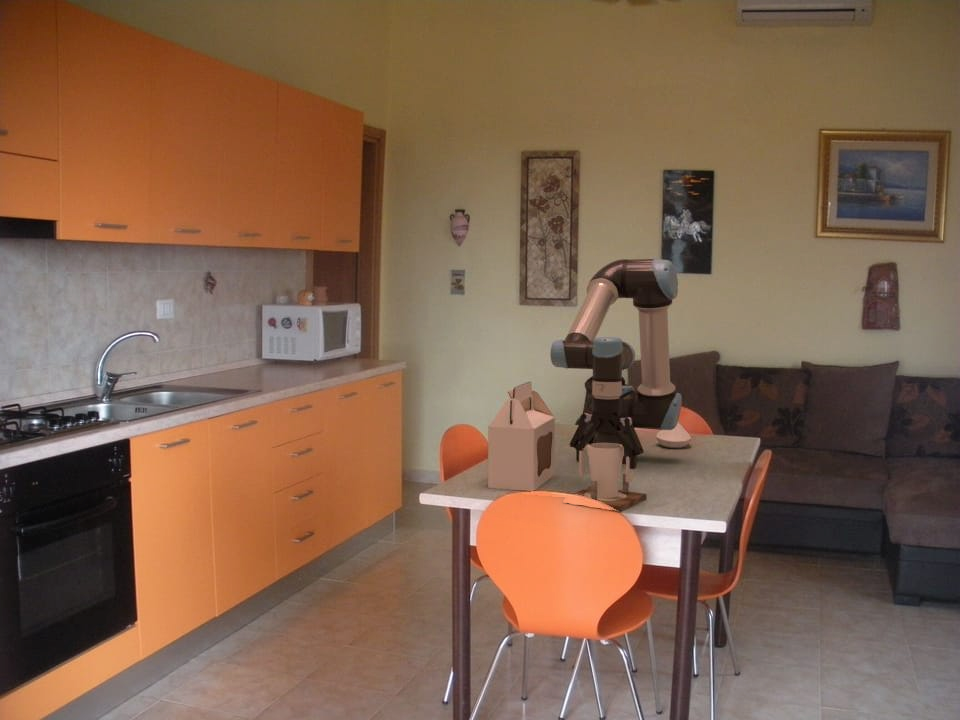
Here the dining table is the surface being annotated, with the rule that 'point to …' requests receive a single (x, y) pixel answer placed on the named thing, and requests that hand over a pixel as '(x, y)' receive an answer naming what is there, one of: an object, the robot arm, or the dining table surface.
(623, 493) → the pin board
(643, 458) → the dining table surface
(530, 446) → the gable box
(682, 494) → the dining table surface
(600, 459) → the foam cup
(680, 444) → the spoon rest
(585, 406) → the black backpack
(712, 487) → the dining table surface
